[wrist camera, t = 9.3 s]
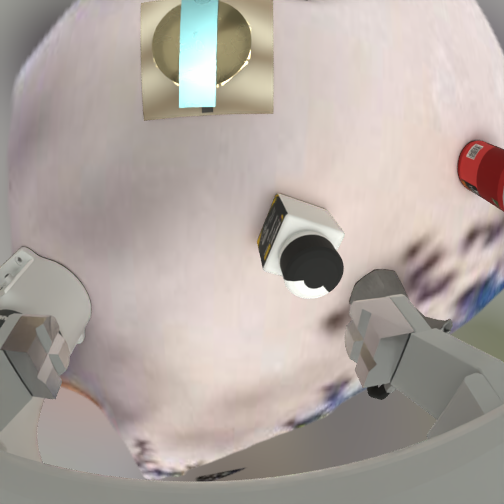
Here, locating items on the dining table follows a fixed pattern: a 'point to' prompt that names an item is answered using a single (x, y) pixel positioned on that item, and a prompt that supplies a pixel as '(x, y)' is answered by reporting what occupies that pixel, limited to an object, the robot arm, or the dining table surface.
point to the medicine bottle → (301, 247)
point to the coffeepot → (382, 286)
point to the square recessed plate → (228, 96)
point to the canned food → (483, 171)
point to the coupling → (201, 48)
